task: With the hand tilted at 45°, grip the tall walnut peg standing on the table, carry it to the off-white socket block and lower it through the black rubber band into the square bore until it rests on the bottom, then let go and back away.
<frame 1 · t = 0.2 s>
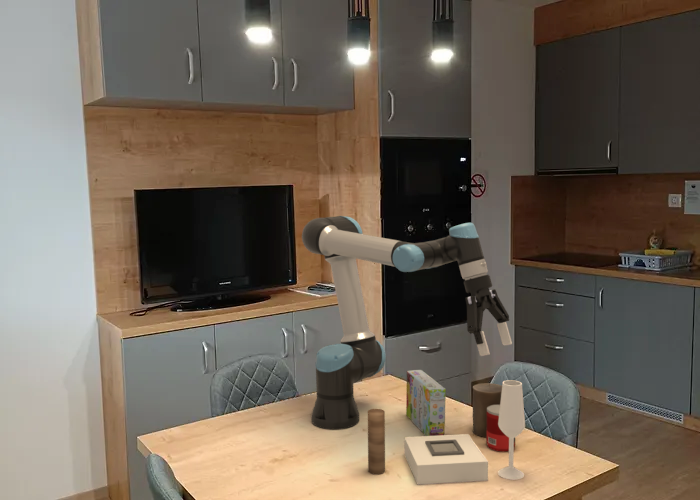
hand: (496, 350, 183), 28 cm above the table, tool tilted 20°, fingers open, 13 cm apart
canned food: (500, 447, 185), on the table
champagne flute: (510, 474, 168), on the table
snack box: (424, 427, 201), on the table
socket block: (444, 466, 172), on the table
peg: (376, 470, 171), on the table
pillar candle: (488, 432, 196), on the table
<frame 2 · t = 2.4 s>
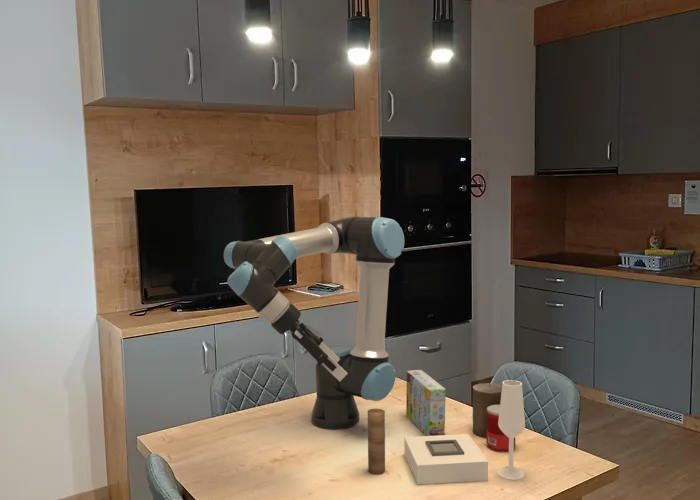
hand: (339, 369, 167), 27 cm above the table, tool tilted 45°, fingers open, 13 cm apart
nothing on the table moved.
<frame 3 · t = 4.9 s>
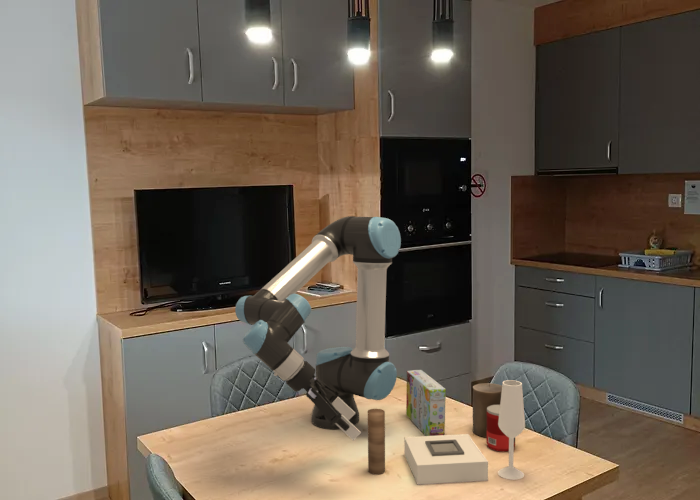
hand: (354, 426, 168), 13 cm above the table, tool tilted 45°, fingers open, 13 cm apart
nothing on the table moved.
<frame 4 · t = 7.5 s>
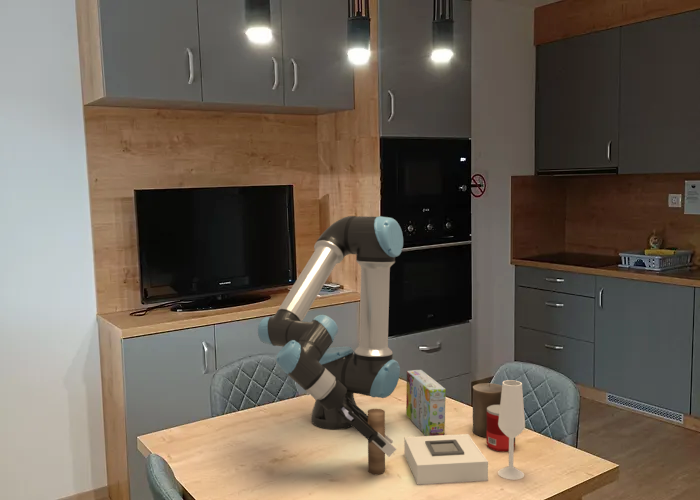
hand: (390, 448, 171), 6 cm above the table, tool tilted 45°, fingers closed on peg, 4 cm apart
peg: (376, 470, 171), on the table, touching gripper
everything else where it was.
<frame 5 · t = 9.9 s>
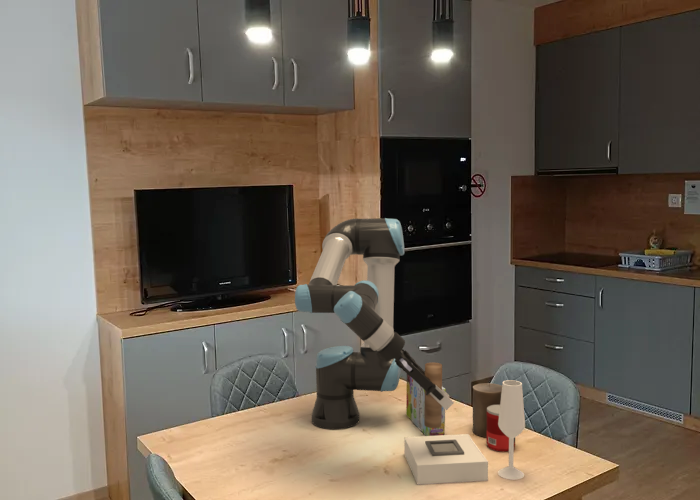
hand: (447, 402, 169), 18 cm above the table, tool tilted 45°, fingers closed on peg, 4 cm apart
peg: (432, 424, 170), point 12 cm above the table, touching gripper
everything else where it was.
when the fingers open (8 cm above the table, at t = 12.2 s): peg drops 2 cm, resting in socket block.
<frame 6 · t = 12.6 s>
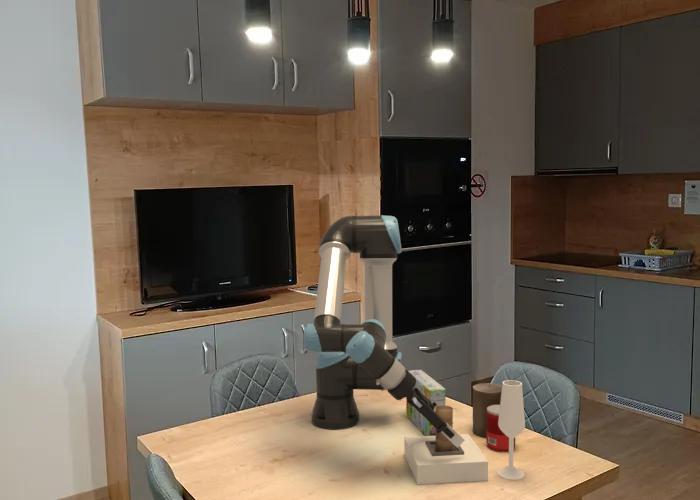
hand: (454, 434, 172), 9 cm above the table, tool tilted 45°, fingers open, 11 cm apart
peg: (443, 466, 173), resting in socket block
everything else where it was.
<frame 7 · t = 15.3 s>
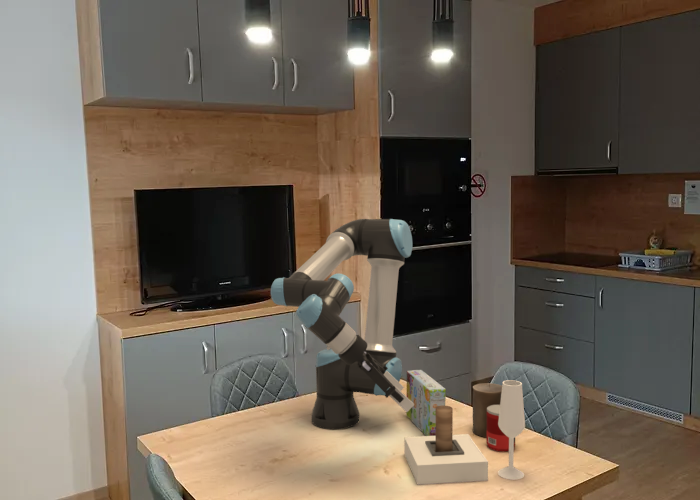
hand: (405, 399, 170), 19 cm above the table, tool tilted 45°, fingers open, 13 cm apart
nothing on the table moved.
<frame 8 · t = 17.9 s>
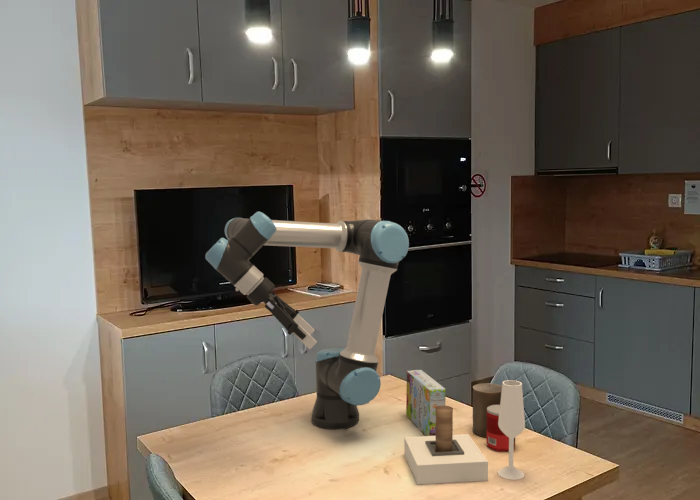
hand: (312, 339, 178), 33 cm above the table, tool tilted 45°, fingers open, 13 cm apart
nothing on the table moved.
at the end: peg 0.1 cm off-centre on the socket block, point 0.0 cm above the socket block's base; peg tilted 0°; the gripper is holding nothing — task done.
